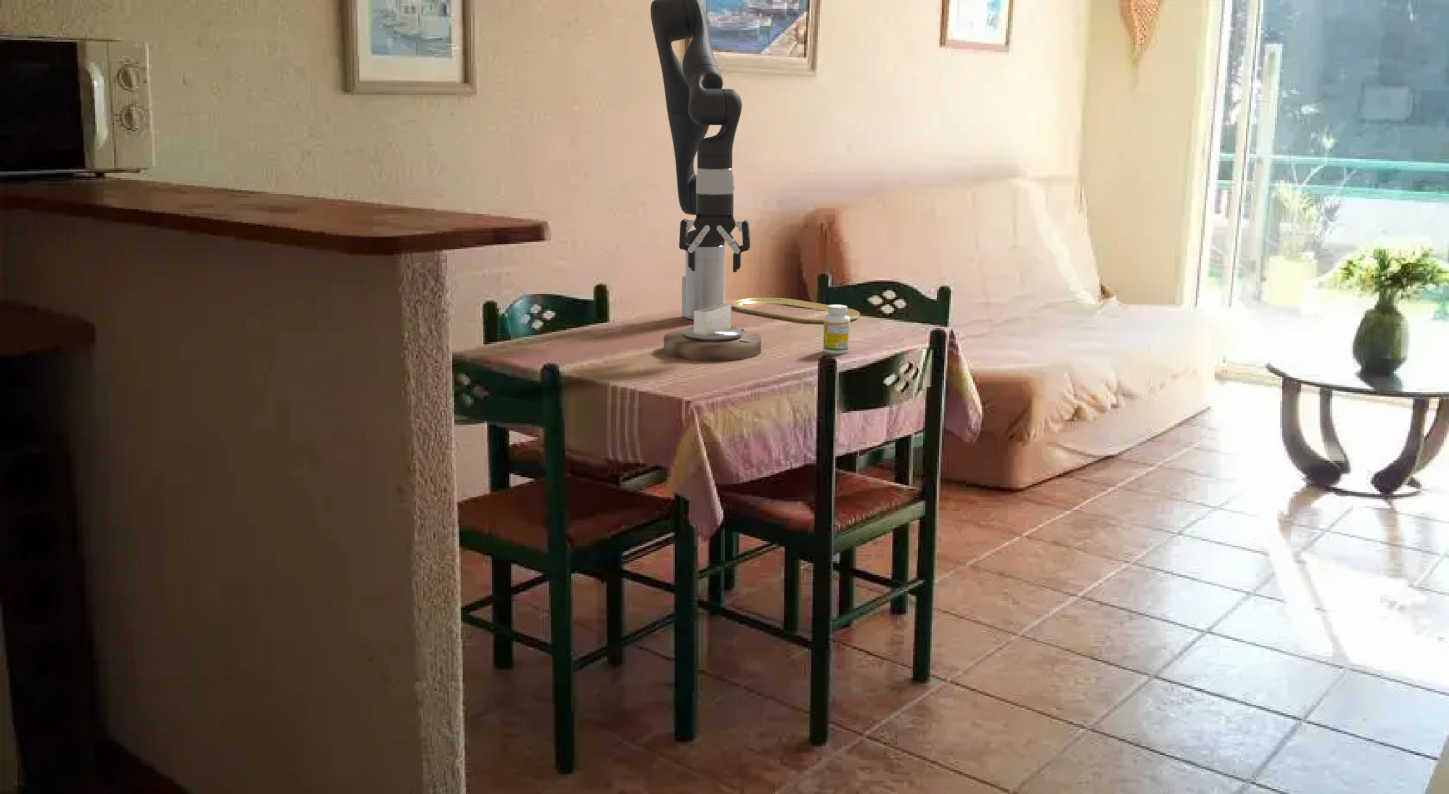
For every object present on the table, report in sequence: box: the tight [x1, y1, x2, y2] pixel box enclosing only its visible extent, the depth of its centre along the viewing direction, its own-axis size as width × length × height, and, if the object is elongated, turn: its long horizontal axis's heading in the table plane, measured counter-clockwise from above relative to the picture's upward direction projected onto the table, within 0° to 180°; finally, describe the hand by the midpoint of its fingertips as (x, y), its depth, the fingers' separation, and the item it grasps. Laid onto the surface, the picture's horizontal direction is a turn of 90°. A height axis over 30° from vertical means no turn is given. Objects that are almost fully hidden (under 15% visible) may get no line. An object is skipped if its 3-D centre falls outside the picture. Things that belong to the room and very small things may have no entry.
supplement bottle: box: [822, 304, 851, 355], centre depth 265 cm, size 5×5×10 cm
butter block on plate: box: [683, 303, 742, 341], centre depth 266 cm, size 15×12×6 cm
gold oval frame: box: [732, 297, 860, 324], centre depth 313 cm, size 19×35×2 cm, turn 45°
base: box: [663, 328, 762, 362], centre depth 266 cm, size 20×20×3 cm
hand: (714, 271), depth 262 cm, fingers open, 8 cm apart
